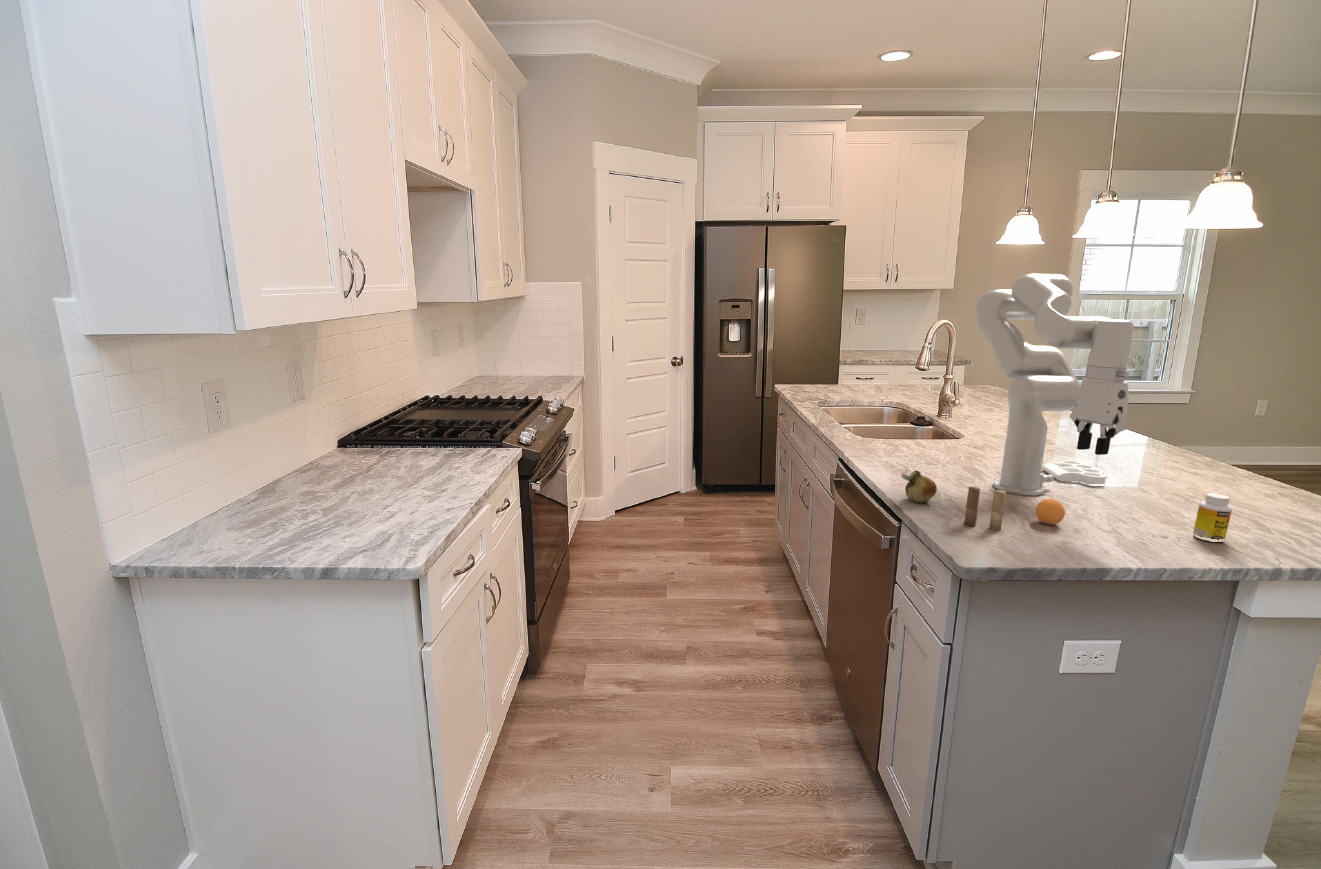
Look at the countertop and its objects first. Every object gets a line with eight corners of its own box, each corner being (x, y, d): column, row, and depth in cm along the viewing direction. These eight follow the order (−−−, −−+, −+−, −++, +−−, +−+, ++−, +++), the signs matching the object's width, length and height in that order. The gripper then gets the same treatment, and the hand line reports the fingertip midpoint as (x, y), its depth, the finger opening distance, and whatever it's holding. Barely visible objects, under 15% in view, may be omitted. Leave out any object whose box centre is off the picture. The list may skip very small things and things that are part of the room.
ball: (1048, 518, 157) (1051, 494, 155) (1069, 527, 151) (1073, 502, 150) (1027, 520, 155) (1031, 496, 154) (1048, 529, 149) (1051, 504, 148)
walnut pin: (970, 522, 153) (975, 486, 151) (977, 526, 151) (982, 489, 149) (961, 523, 152) (966, 487, 150) (968, 527, 150) (973, 490, 148)
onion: (916, 507, 163) (919, 477, 161) (896, 497, 171) (899, 468, 169) (941, 505, 165) (945, 475, 163) (921, 495, 172) (924, 466, 171)
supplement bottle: (1211, 544, 142) (1221, 500, 139) (1186, 535, 147) (1195, 492, 145) (1231, 542, 143) (1241, 498, 141) (1205, 533, 148) (1214, 491, 146)
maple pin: (995, 526, 151) (1000, 489, 149) (1003, 530, 148) (1008, 492, 146) (986, 527, 150) (991, 490, 148) (994, 531, 148) (999, 493, 146)
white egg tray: (1036, 469, 201) (1087, 471, 199) (1062, 486, 184) (1118, 489, 182) (1038, 458, 200) (1089, 461, 198) (1064, 475, 183) (1120, 478, 181)
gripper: (1153, 379, 140) (1138, 460, 144) (1086, 369, 156) (1074, 442, 160) (1126, 379, 138) (1111, 462, 143) (1061, 369, 154) (1049, 444, 158)
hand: (1092, 450), depth 151 cm, fingers open, 4 cm apart
